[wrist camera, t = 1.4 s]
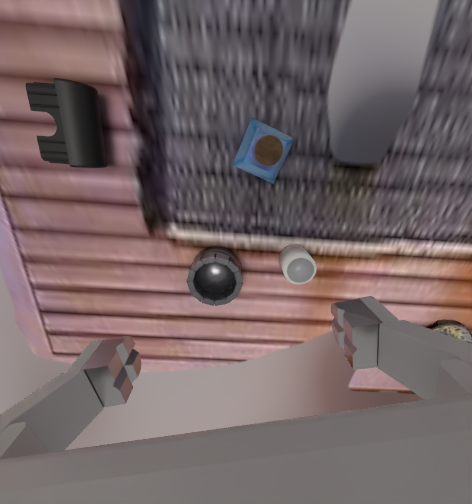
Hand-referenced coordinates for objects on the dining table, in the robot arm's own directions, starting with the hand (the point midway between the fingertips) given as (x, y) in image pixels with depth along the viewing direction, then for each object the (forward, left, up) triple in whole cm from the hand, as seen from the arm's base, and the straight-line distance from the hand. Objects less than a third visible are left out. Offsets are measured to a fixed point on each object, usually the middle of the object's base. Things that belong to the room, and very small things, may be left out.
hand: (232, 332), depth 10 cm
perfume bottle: (-8, -3, -33) cm, 34 cm away
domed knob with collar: (+11, +7, -33) cm, 35 cm away
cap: (-1, +15, -33) cm, 36 cm away
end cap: (+9, -23, -33) cm, 41 cm away
